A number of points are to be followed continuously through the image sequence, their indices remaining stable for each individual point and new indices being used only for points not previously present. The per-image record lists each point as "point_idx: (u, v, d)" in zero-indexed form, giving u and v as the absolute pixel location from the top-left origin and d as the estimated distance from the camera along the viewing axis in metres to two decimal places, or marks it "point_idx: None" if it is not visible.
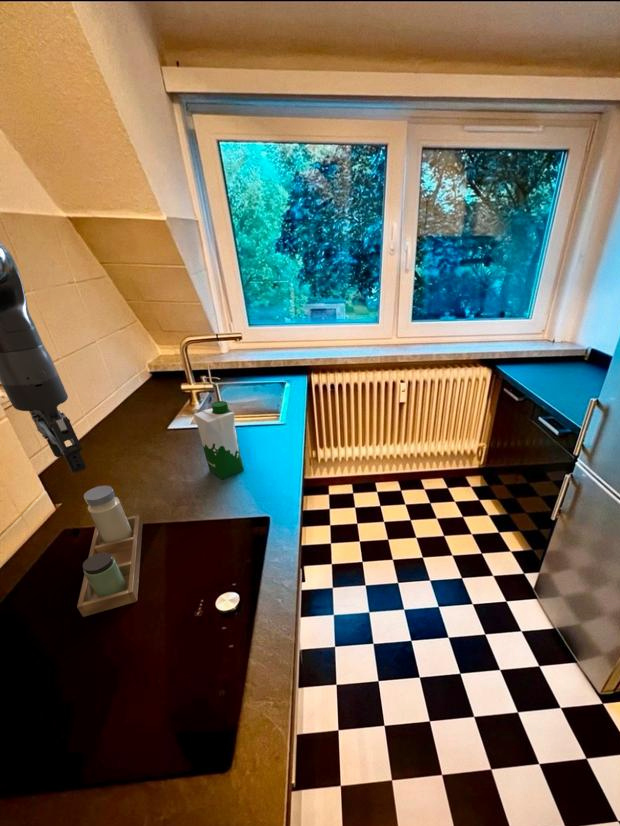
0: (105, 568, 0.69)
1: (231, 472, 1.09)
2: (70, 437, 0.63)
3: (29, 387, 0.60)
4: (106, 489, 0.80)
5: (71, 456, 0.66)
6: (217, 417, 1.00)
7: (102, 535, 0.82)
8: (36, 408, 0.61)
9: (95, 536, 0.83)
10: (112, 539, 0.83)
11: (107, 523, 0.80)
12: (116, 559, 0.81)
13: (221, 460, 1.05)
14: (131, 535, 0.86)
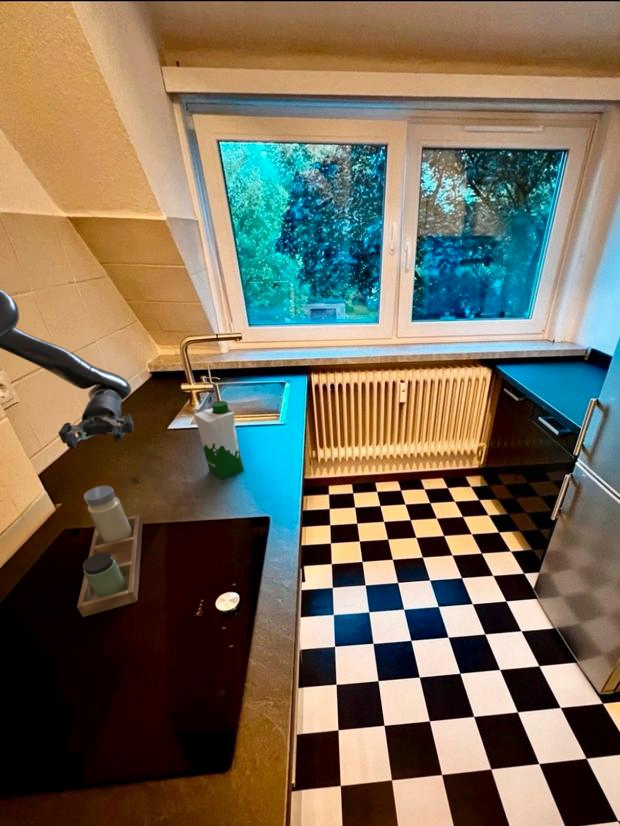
0: (105, 568, 0.69)
1: (231, 472, 1.09)
2: (132, 424, 0.92)
3: (117, 408, 0.97)
4: (106, 489, 0.80)
5: (121, 429, 0.88)
6: (217, 417, 1.00)
7: (102, 535, 0.82)
8: (114, 412, 0.94)
9: (95, 536, 0.83)
10: (112, 539, 0.83)
11: (107, 523, 0.80)
12: (116, 559, 0.81)
13: (222, 460, 1.05)
14: (131, 535, 0.86)
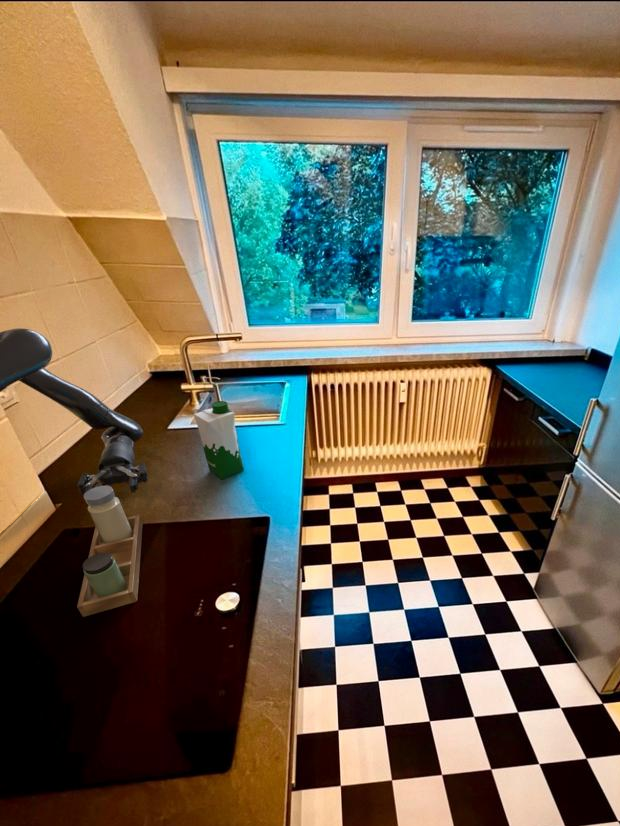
0: (105, 568, 0.69)
1: (231, 472, 1.09)
2: (146, 473, 0.97)
3: (131, 455, 1.01)
4: (106, 489, 0.80)
5: (137, 479, 0.93)
6: (217, 417, 1.00)
7: (102, 535, 0.82)
8: (129, 460, 0.98)
9: (95, 536, 0.83)
10: (112, 539, 0.83)
11: (107, 523, 0.80)
12: (116, 559, 0.81)
13: (222, 460, 1.05)
14: (131, 535, 0.86)
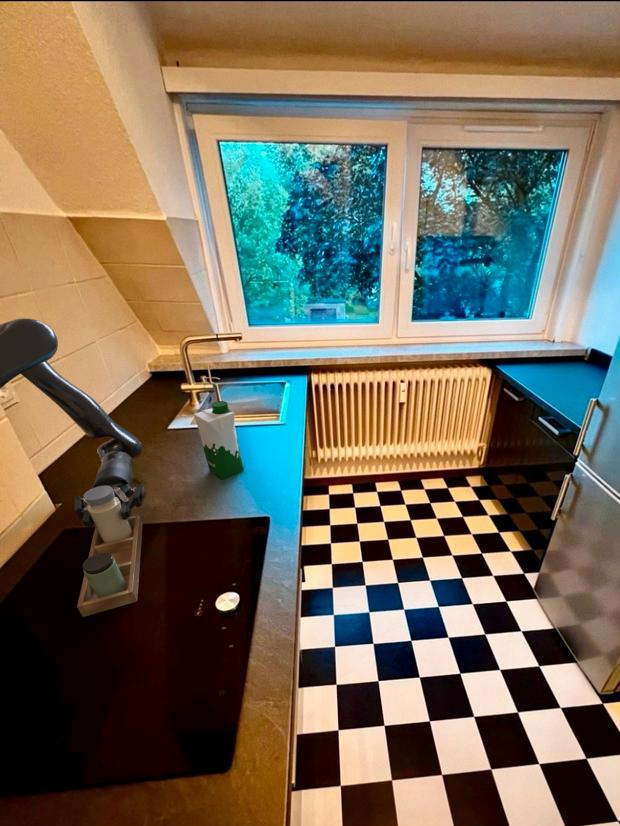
0: (105, 568, 0.69)
1: (231, 472, 1.09)
2: (142, 496, 0.88)
3: (128, 474, 0.93)
4: (106, 489, 0.80)
5: (129, 505, 0.84)
6: (217, 417, 1.00)
7: (102, 535, 0.82)
8: (126, 480, 0.90)
9: (95, 536, 0.83)
10: (112, 539, 0.83)
11: (107, 523, 0.80)
12: (116, 559, 0.81)
13: (222, 460, 1.05)
14: (131, 535, 0.86)
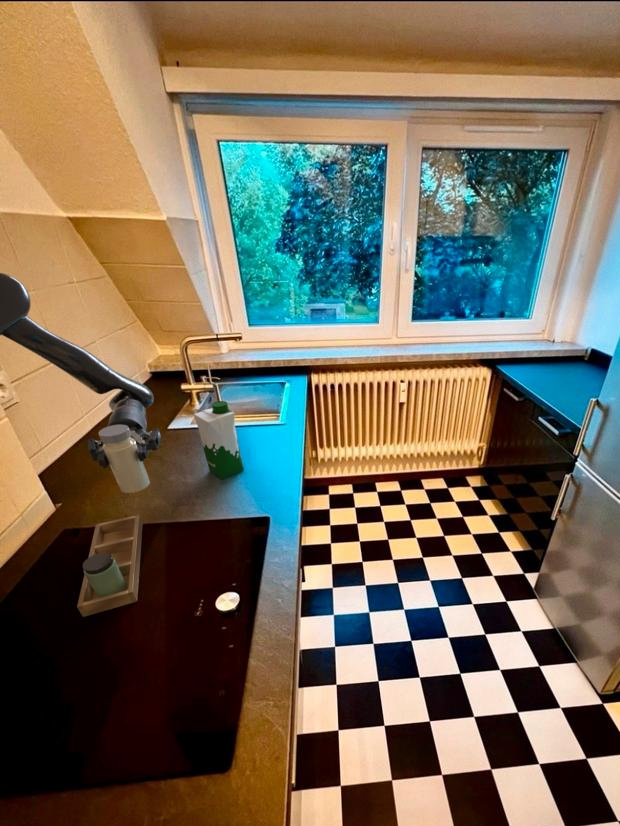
0: (105, 568, 0.69)
1: (231, 472, 1.09)
2: (158, 440, 0.84)
3: (143, 420, 0.89)
4: (122, 427, 0.76)
5: (146, 447, 0.80)
6: (217, 417, 1.00)
7: (117, 477, 0.78)
8: (141, 424, 0.86)
9: (95, 536, 0.83)
10: (128, 482, 0.78)
11: (123, 463, 0.76)
12: (116, 559, 0.81)
13: (222, 460, 1.05)
14: (147, 480, 0.82)
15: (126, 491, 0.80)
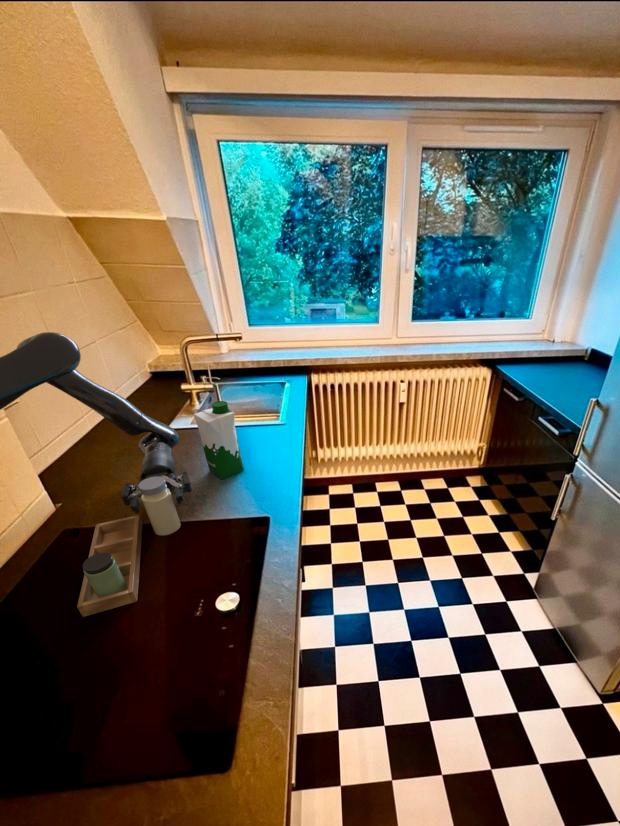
0: (105, 568, 0.69)
1: (231, 472, 1.09)
2: None
3: (172, 464, 0.97)
4: (159, 480, 0.84)
5: (182, 490, 0.89)
6: (217, 417, 1.00)
7: (153, 524, 0.86)
8: (171, 469, 0.94)
9: (95, 536, 0.83)
10: (163, 528, 0.87)
11: (159, 512, 0.84)
12: (116, 559, 0.81)
13: (222, 460, 1.05)
14: (179, 524, 0.90)
15: None
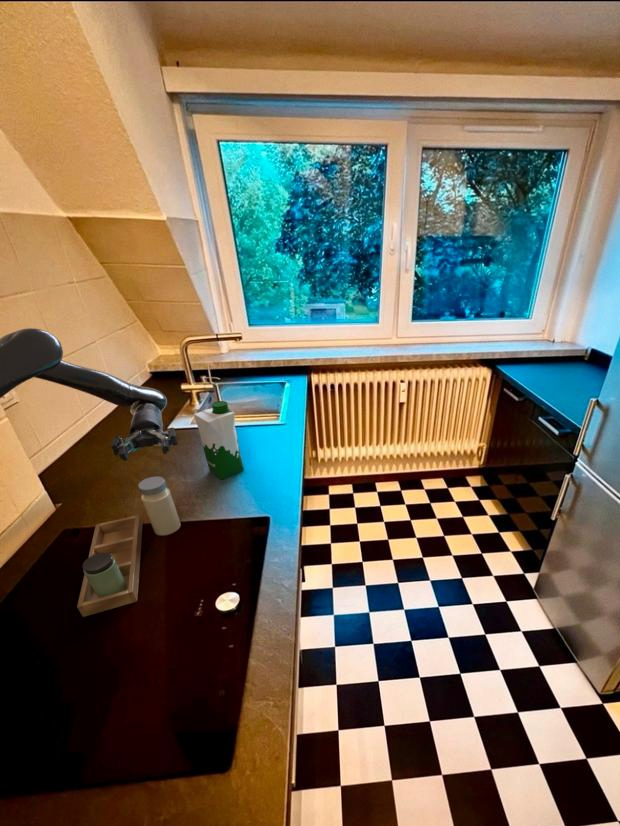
0: (105, 568, 0.69)
1: (231, 472, 1.09)
2: (176, 437, 0.99)
3: (160, 421, 1.03)
4: (159, 480, 0.84)
5: (168, 442, 0.95)
6: (217, 417, 1.00)
7: (153, 524, 0.86)
8: (159, 425, 1.00)
9: (95, 536, 0.83)
10: (163, 528, 0.87)
11: (159, 512, 0.84)
12: (116, 559, 0.81)
13: (222, 460, 1.05)
14: (179, 524, 0.90)
15: None
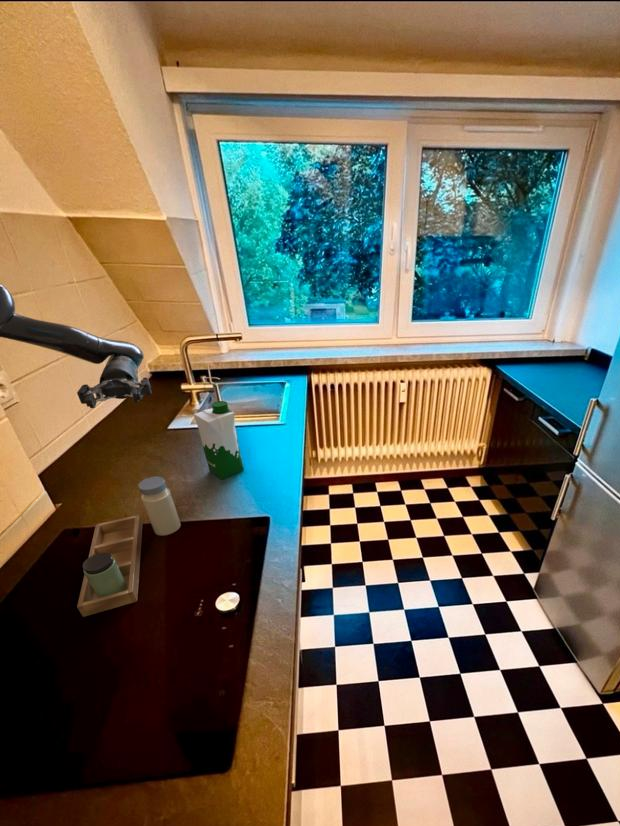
0: (105, 568, 0.69)
1: (231, 472, 1.09)
2: (150, 387, 0.91)
3: (134, 372, 0.95)
4: (159, 480, 0.84)
5: (140, 390, 0.87)
6: (217, 417, 1.00)
7: (153, 524, 0.86)
8: (131, 375, 0.93)
9: (95, 536, 0.83)
10: (163, 528, 0.87)
11: (159, 512, 0.84)
12: (116, 559, 0.81)
13: (222, 460, 1.05)
14: (179, 524, 0.90)
15: None
